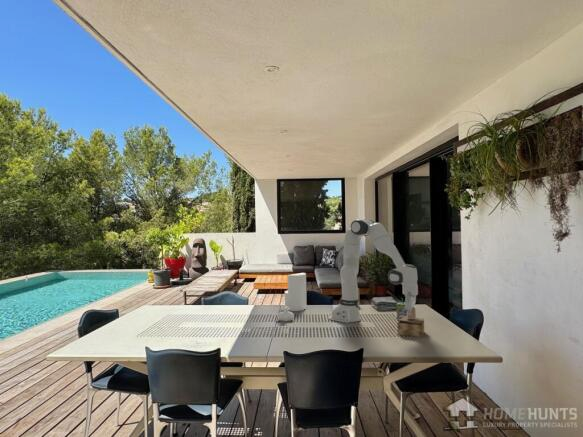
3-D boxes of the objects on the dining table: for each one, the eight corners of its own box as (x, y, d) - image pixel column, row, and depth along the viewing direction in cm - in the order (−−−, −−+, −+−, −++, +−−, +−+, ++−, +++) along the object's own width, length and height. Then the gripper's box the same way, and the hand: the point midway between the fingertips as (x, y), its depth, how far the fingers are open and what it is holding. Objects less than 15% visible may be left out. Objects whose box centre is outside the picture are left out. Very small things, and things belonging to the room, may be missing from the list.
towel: (370, 306, 277) (370, 296, 277) (392, 305, 279) (392, 296, 279) (376, 311, 262) (376, 300, 262) (399, 310, 263) (399, 300, 264)
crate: (397, 334, 205) (397, 322, 205) (400, 329, 215) (400, 318, 215) (422, 337, 199) (422, 325, 199) (424, 332, 208) (424, 320, 209)
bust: (294, 320, 240) (293, 303, 240) (294, 323, 232) (294, 306, 233) (277, 320, 239) (276, 304, 240) (277, 323, 232) (276, 306, 232)
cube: (407, 317, 205) (407, 308, 205) (406, 315, 209) (406, 306, 210) (415, 318, 204) (415, 308, 204) (414, 316, 209) (413, 307, 209)
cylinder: (311, 308, 272) (310, 273, 272) (296, 313, 259) (295, 276, 260) (295, 305, 283) (294, 271, 284) (280, 309, 271) (279, 274, 272)
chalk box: (411, 322, 230) (411, 300, 230) (397, 321, 232) (397, 299, 232) (410, 318, 239) (409, 297, 239) (396, 318, 241) (396, 297, 241)
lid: (397, 320, 205) (397, 318, 205) (400, 316, 215) (400, 314, 215) (422, 324, 199) (422, 322, 199) (424, 319, 209) (424, 318, 209)
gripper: (413, 294, 196) (414, 318, 196) (417, 288, 215) (418, 310, 214) (402, 294, 199) (402, 317, 199) (407, 288, 218) (407, 309, 217)
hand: (410, 314), depth 207 cm, fingers closed on cube, 5 cm apart
